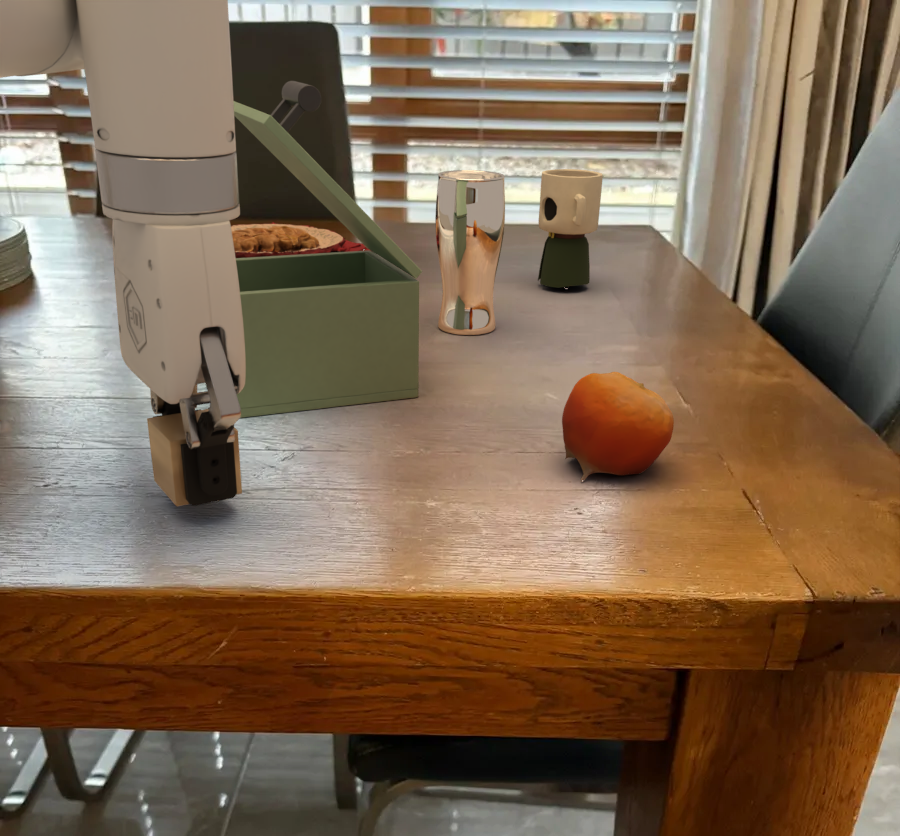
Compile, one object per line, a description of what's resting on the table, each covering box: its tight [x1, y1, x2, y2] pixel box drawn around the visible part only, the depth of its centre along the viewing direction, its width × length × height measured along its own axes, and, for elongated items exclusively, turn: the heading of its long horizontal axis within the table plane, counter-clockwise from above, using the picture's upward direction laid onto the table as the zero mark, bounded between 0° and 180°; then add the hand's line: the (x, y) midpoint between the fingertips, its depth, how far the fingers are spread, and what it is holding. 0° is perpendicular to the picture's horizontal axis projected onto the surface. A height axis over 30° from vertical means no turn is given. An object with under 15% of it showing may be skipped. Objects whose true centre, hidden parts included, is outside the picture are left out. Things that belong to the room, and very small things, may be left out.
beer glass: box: [434, 169, 506, 336], centre depth 100 cm, size 7×7×15 cm
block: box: [146, 408, 243, 507], centre depth 63 cm, size 4×4×4 cm
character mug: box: [537, 168, 604, 289], centre depth 117 cm, size 11×7×13 cm, turn 8°
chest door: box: [233, 80, 423, 280], centre depth 79 cm, size 16×13×5 cm
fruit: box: [561, 371, 675, 481], centre depth 71 cm, size 8×8×8 cm
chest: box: [236, 250, 420, 419], centre depth 84 cm, size 16×13×10 cm
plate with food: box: [231, 221, 371, 258], centre depth 131 cm, size 24×26×4 cm
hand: (197, 482), depth 64 cm, fingers closed on block, 4 cm apart
